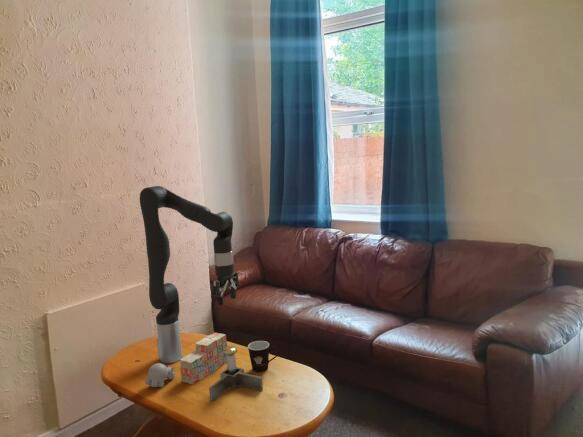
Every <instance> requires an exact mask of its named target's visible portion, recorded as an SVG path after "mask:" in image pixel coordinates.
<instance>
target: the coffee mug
mask: <svg viewBox="0 0 583 437" xmlns="http://www.w3.org/2000/svg"><path fill="white" fill-rule="evenodd" d="M247 349H248V355H249V359H250V365H251V370H252V371H253V373H264V372H267V371H268V370H269V364H270V363H271V361H273V360H275V359H276V358H277V357H278V356H279V354H280V350H279V349H278V348H277V347H274V346H273V347H271V348H270V343H269V341H265V340H256V341H251V342H250V343H249V344H248V345H247ZM272 350H275V351H277V353H276V354H275V356H273V357H272V358H270V355H269V354H270V353H271V351H272ZM269 358H270V359H269Z"/></svg>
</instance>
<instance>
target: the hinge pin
mask: <svg viewBox="0 0 583 437" xmlns="http://www.w3.org/2000/svg"><path fill="white" fill-rule="evenodd" d="M237 352H238V347H237V346H235V345H229V346H228V345H227V347H225V348H224V349H223V353H224V354H226V356H227V363H226V366H227V367H226V369H227V368H228V374H230V375H234V374H236V367H237V362H236V353H237Z"/></svg>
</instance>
